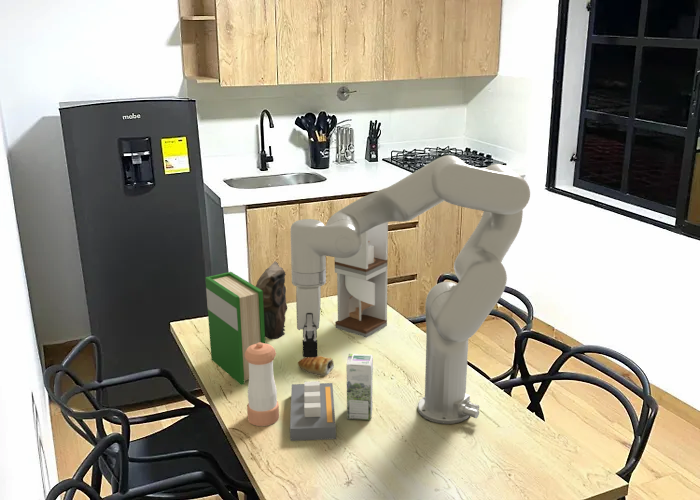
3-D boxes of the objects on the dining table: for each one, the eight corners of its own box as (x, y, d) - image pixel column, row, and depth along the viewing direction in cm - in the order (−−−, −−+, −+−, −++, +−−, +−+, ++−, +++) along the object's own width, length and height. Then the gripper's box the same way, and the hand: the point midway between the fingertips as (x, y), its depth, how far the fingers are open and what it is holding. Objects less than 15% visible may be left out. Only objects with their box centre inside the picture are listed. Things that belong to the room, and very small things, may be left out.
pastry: (293, 372, 188) (293, 359, 187) (304, 361, 194) (303, 348, 193) (326, 378, 185) (326, 364, 184) (336, 367, 191) (336, 354, 190)
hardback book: (266, 377, 185) (262, 290, 178) (241, 385, 181) (235, 297, 174) (235, 352, 199) (230, 271, 191) (211, 359, 195) (205, 277, 187)
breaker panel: (292, 395, 176) (291, 384, 175) (332, 393, 177) (332, 382, 176) (290, 440, 157) (290, 428, 156) (335, 438, 158) (335, 426, 157)
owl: (276, 319, 221) (273, 257, 215) (302, 331, 212) (300, 267, 206) (242, 330, 213) (239, 267, 206) (268, 344, 204) (265, 278, 198)
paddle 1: (304, 390, 171) (304, 381, 169) (319, 390, 171) (319, 381, 170) (304, 395, 170) (304, 385, 168) (319, 394, 170) (319, 385, 168)
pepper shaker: (283, 422, 164) (279, 346, 158) (252, 429, 162) (247, 352, 156) (274, 407, 171) (271, 334, 165) (244, 413, 168) (240, 339, 162)
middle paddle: (304, 401, 166) (304, 392, 165) (320, 400, 166) (319, 391, 165) (304, 405, 165) (304, 396, 163) (320, 405, 165) (320, 395, 164)
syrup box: (372, 408, 170) (373, 353, 165) (371, 421, 164) (371, 364, 160) (349, 407, 171) (348, 352, 166) (346, 420, 165) (345, 363, 160)
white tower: (335, 328, 214) (333, 215, 203) (356, 316, 222) (356, 207, 211) (366, 337, 207) (366, 221, 197) (386, 325, 216) (387, 213, 205)
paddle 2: (304, 412, 162) (304, 403, 160) (320, 412, 162) (320, 402, 160) (304, 417, 160) (304, 407, 159) (320, 416, 161) (320, 407, 159)
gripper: (292, 263, 164) (294, 331, 169) (290, 290, 148) (292, 365, 153) (324, 262, 164) (325, 330, 170) (327, 289, 148) (327, 364, 153)
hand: (310, 347), depth 161 cm, fingers open, 9 cm apart
